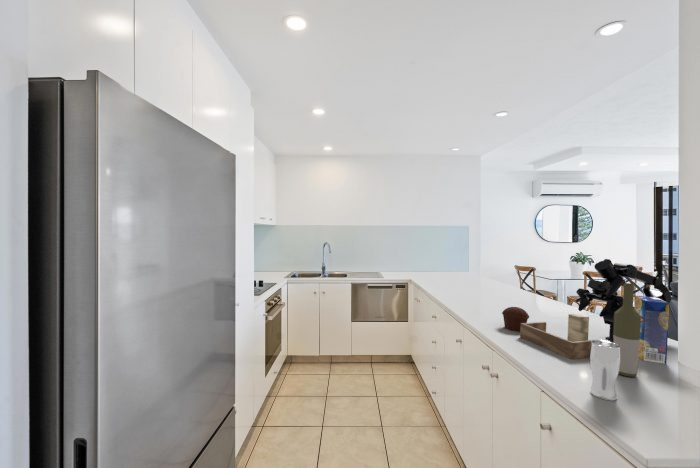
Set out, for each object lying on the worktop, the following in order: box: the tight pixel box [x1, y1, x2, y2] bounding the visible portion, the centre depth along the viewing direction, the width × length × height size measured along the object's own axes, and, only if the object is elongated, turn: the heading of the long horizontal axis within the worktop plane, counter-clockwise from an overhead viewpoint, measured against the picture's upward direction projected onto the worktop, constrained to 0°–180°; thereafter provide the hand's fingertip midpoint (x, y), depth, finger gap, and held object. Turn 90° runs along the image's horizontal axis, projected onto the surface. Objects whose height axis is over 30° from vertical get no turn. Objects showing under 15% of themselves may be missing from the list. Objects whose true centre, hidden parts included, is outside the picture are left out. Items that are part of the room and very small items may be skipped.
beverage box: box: [634, 295, 670, 365], centre depth 127 cm, size 7×11×22 cm, turn 155°
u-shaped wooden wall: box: [519, 321, 593, 360], centre depth 137 cm, size 13×25×6 cm, turn 16°
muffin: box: [501, 306, 530, 333], centre depth 159 cm, size 12×11×10 cm
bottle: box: [612, 282, 641, 378], centre depth 111 cm, size 7×7×30 cm
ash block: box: [567, 313, 590, 342], centre depth 140 cm, size 5×5×12 cm
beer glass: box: [589, 339, 620, 402], centre depth 97 cm, size 7×7×15 cm
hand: (589, 313), depth 141 cm, fingers open, 9 cm apart
